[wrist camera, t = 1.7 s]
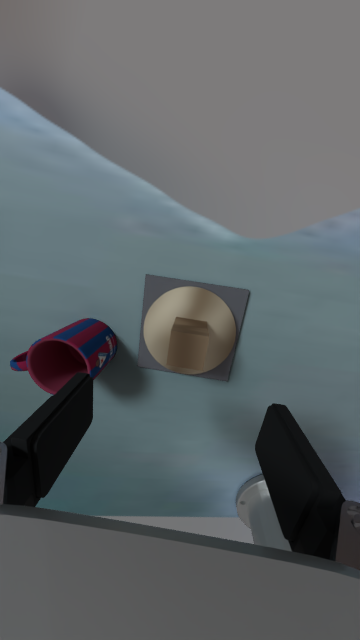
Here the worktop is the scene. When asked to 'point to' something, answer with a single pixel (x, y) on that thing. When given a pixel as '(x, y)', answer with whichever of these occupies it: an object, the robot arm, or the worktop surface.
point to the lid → (189, 330)
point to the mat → (161, 285)
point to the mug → (68, 354)
